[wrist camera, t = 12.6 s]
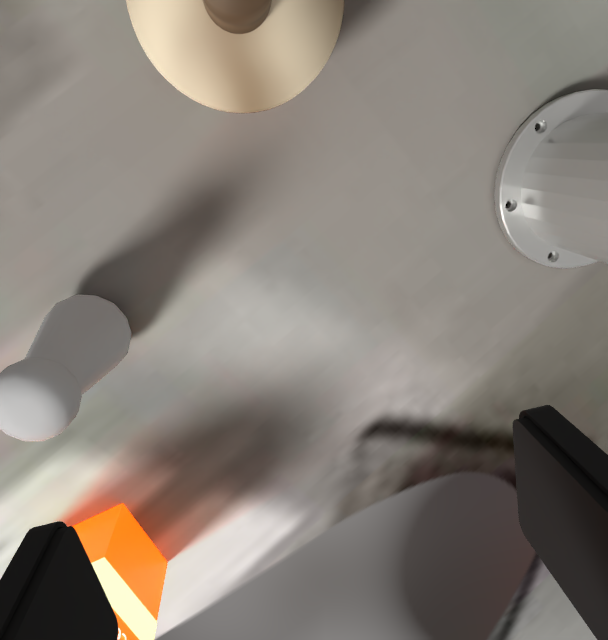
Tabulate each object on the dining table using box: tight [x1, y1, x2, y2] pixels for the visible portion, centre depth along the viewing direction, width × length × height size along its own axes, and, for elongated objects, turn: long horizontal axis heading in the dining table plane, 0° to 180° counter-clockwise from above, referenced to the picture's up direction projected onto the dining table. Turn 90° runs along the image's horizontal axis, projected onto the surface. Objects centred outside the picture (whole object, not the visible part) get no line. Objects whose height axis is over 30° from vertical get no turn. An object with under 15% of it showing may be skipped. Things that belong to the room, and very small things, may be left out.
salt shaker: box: [0, 294, 132, 441], centre depth 31 cm, size 6×6×13 cm
